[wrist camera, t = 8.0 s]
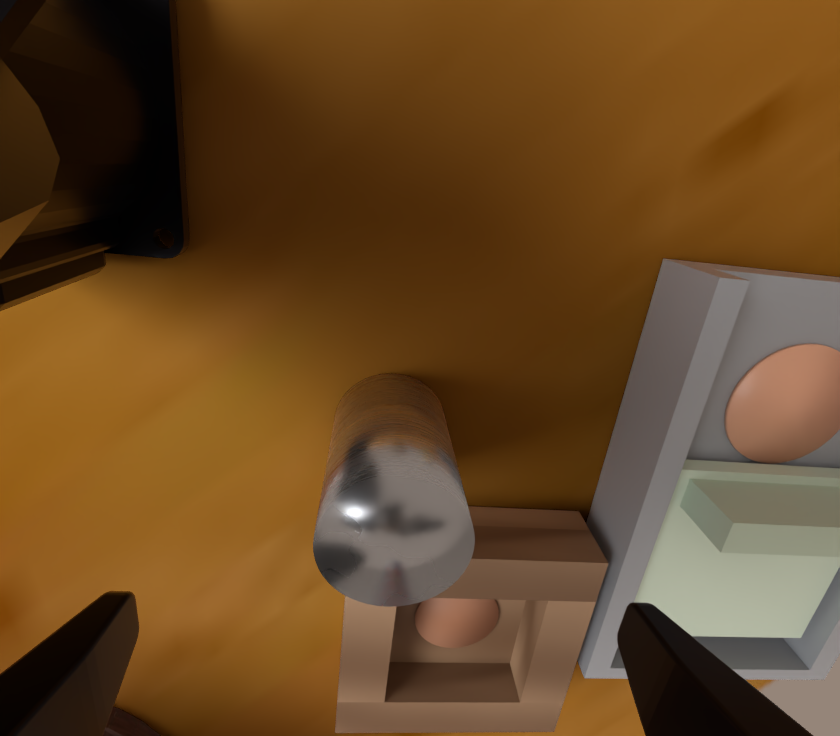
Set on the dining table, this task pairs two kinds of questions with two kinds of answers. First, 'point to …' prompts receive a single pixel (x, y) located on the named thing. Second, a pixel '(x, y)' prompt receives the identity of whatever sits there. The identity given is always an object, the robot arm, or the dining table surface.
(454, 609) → the socket board
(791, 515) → the lid
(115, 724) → the dark ball on stand
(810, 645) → the gray box
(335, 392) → the dining table surface
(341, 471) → the peg
